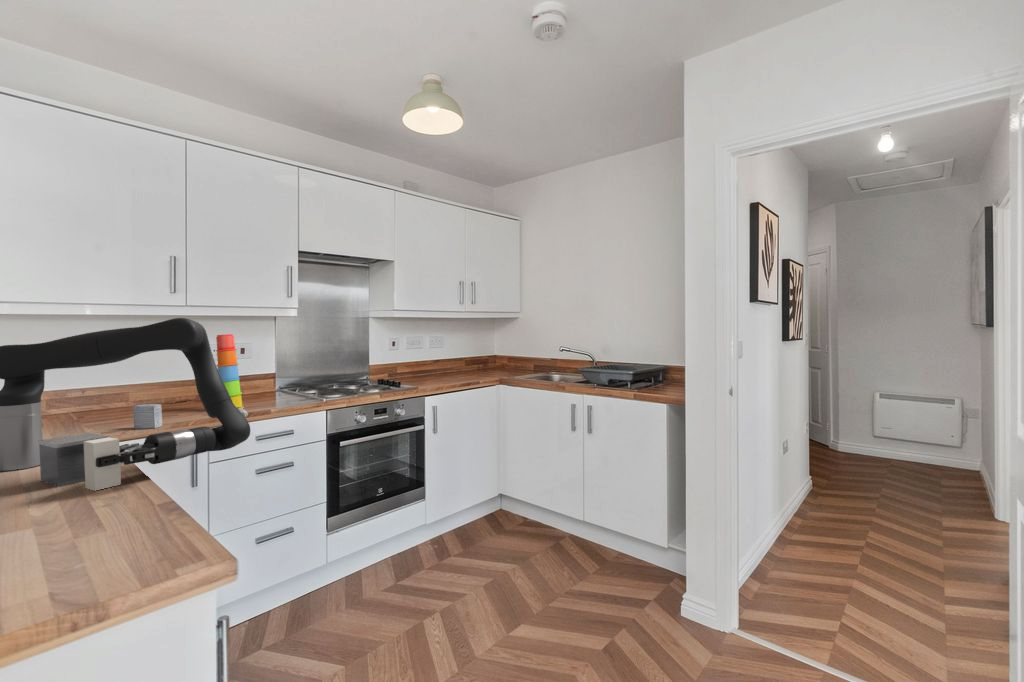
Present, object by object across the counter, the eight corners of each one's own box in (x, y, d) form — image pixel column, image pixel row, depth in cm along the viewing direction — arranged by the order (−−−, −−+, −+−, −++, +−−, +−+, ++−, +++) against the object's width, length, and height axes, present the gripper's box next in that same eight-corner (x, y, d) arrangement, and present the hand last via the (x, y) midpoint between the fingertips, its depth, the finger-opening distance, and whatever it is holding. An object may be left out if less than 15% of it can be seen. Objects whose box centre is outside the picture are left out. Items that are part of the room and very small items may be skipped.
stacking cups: (229, 412, 226) (227, 334, 225) (213, 411, 229) (210, 334, 228) (249, 408, 235) (246, 333, 234) (232, 408, 239) (230, 334, 238)
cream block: (85, 488, 119) (83, 441, 118) (110, 482, 123) (108, 437, 123) (95, 491, 116) (93, 443, 116) (121, 485, 120) (119, 439, 120)
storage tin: (39, 481, 125) (37, 440, 125) (90, 470, 134) (89, 432, 134) (57, 487, 120) (55, 444, 120) (109, 475, 129) (108, 436, 129)
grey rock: (231, 415, 220) (231, 400, 220) (243, 414, 223) (243, 399, 223) (238, 420, 206) (238, 404, 206) (251, 419, 209) (251, 403, 209)
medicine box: (162, 426, 195) (162, 403, 195) (155, 428, 191) (154, 405, 191) (141, 426, 195) (140, 404, 195) (133, 429, 191) (132, 406, 190)
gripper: (155, 429, 136) (76, 442, 121) (185, 433, 128) (104, 448, 114) (156, 457, 136) (77, 473, 121) (186, 463, 129) (106, 481, 114)
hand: (91, 461), depth 117 cm, fingers closed on cream block, 5 cm apart
